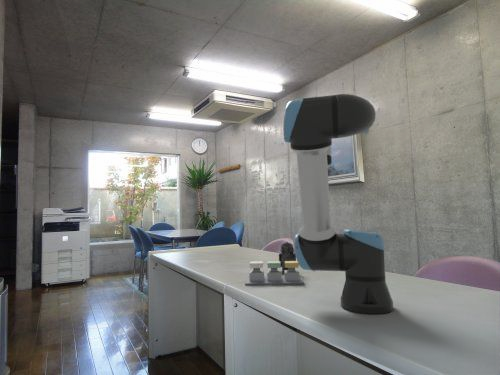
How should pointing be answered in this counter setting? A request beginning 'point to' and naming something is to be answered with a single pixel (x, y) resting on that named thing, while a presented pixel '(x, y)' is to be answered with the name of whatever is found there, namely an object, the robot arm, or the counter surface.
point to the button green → (274, 265)
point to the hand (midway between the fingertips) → (324, 211)
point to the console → (274, 278)
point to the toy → (286, 255)
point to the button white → (256, 266)
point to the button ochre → (291, 265)
